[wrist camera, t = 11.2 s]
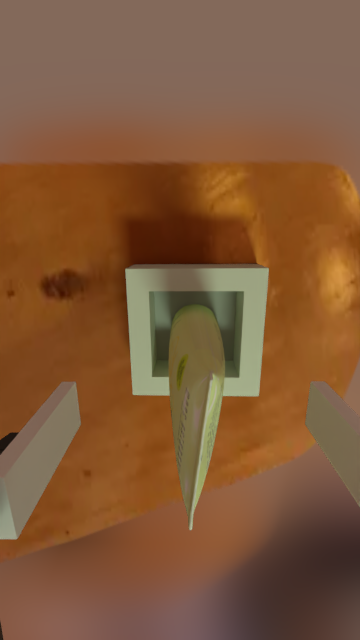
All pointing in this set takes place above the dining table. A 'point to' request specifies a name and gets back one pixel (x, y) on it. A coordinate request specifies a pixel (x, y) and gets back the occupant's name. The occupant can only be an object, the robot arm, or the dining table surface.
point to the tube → (195, 395)
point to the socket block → (204, 289)
